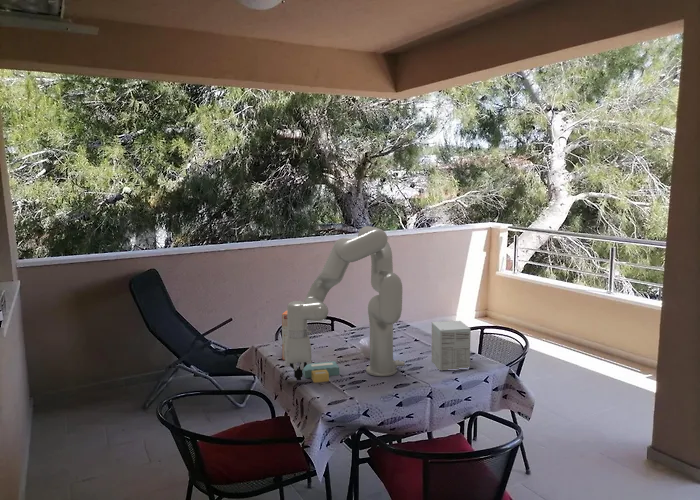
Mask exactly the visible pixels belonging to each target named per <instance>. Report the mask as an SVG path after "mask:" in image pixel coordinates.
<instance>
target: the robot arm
mask: <svg viewBox="0 0 700 500" xmlns="http://www.w3.org/2000/svg"><path fill="white" fill-rule="evenodd" d="M388 239H389V238H388V235H387V233H386V231H384V230H383V229H381V228H378V227H374V226H371V225H369V226H367V225H365V226H362V227H361V228H360V229H359V231H358V233H357V237H354V238H347V237H342V238H339V239H337V240H336V241H335V243H334V244H333V246H332V248H331V250H330V253H329V254H328V257H327V259H326V261H325V263H324V266H323V268H322V270H321V271H320V274H318V276H317V277H316V278H315V280H314V281H313V283H312V285H311V286H310V288H309V290H308V292H307V294H306V297H305V298H304V301H302V300H293V301H290V302H288V304H287V307H286V311H287V318H288V336H286V339H285V350H284V357H285V360H284V362H283V363H284V366H285V367H291V369H292V370H293V374H294V375H293V376H294V378H295V380H296V381H302V378H303V373H302V370H303V368H304V367H305V366H306V365H308V364H311V363H313V361H312V346H311V345H312V344H311V339H310V336H309V334H311V333H312V329H310V328H308V321H309V322H310V321H311V322H312V321H313V322H320V321H323V320H325V319H327V317H328V315H329V308H328V306H327V305H326V303H324V302H325V299H326V297H327V295H328V294H329V292H330V290H331V289H333V287H334V286H337V285H338V284H340V283H341V282H342V280H343V279H344V276H345V274H346V272H347V271H348V270H347V269H348V267H349V265H350V263H355V262H358V261H360V260H363V259H365V258H367V257H369V256H370V261H371V264H370V265H371V266H370V267H371V269H370V270H371V271H370V285H371V287H372V289H373V290H374V291H375V292H377V293H378V294H377V295H373V297H371V298H370V300H369V302H368V304H367V315H368V322H369V323H368V324H369V365H368V366H367V367H366V368H365V371H366V373H367V374H368V375H371V376H374V377H390V376H393V375H395V374H397V372H398V369H397V368H398V367H404V366H405V361H403V360H401V361H400V359H396V360H394V324H396V323H398V321H399V320H400V318H401V316H402V310H403V283H402V279H401V278H400V277H399V275H397V273H395V272H394V269H393V267H394V266H393V265H394V263H393V251H392V247H391V245H390V244H389V241H388ZM297 364H299V366H298V365H297Z"/></svg>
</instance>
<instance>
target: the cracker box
mask: <svg viewBox="0 0 700 500" xmlns="http://www.w3.org/2000/svg"><path fill="white" fill-rule="evenodd" d="M286 336H288V318H287V310H285V311H284V312H283V313H281V345H282V346H281V347H282V349H281V352H282V353H281V356H282V360H283V361H285V357H284V350H285V339H286Z"/></svg>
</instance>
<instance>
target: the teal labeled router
mask: <svg viewBox="0 0 700 500" xmlns="http://www.w3.org/2000/svg"><path fill="white" fill-rule="evenodd" d="M316 370H327V371H328V373H329V377H331V376H339V375H340V367H339V365H338V364H337V362H336V361H335V360H334V361H333V360H332V361H324V362H312V363H311V364H308V365H306V366H305V367H304V368H303V370H302V376H304V378H305V379H308V378H309V379H312V373H311V371H316Z"/></svg>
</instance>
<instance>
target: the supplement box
mask: <svg viewBox="0 0 700 500" xmlns="http://www.w3.org/2000/svg"><path fill="white" fill-rule="evenodd" d="M471 332H472V331H471V327H469V326H468V325H466V324H465V323H464V322H462V321H461V320H450V321H449V320H448V321H432V322H431V362H432V364H433V363H434V364H435V365H434V364H433V365H434V367H436V369H439V370H448V369H459V368H468V367H471ZM439 370H438V371H439Z"/></svg>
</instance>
